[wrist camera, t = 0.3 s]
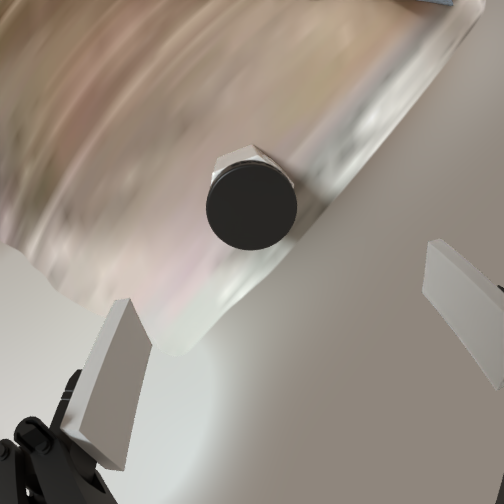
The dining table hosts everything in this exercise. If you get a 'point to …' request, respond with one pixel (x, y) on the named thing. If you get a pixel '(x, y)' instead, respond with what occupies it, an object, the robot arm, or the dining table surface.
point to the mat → (440, 2)
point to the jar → (250, 200)
